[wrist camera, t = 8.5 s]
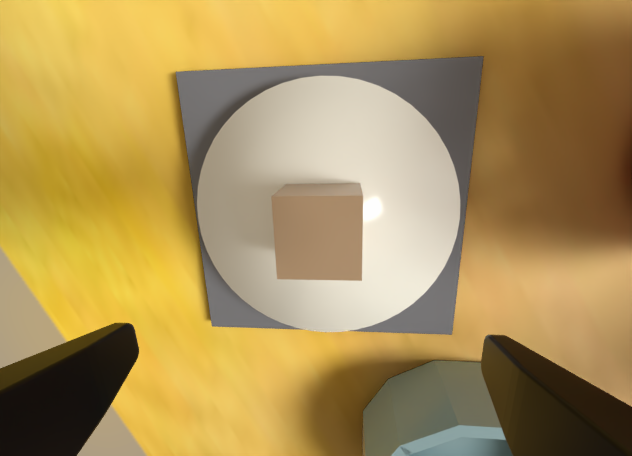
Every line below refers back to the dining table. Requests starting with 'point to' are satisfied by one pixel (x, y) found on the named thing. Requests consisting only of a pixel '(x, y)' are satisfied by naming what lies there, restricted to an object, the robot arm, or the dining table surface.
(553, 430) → the robot arm
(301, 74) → the mat
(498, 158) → the dining table surface
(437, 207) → the lid
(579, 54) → the dining table surface
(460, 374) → the bowl
